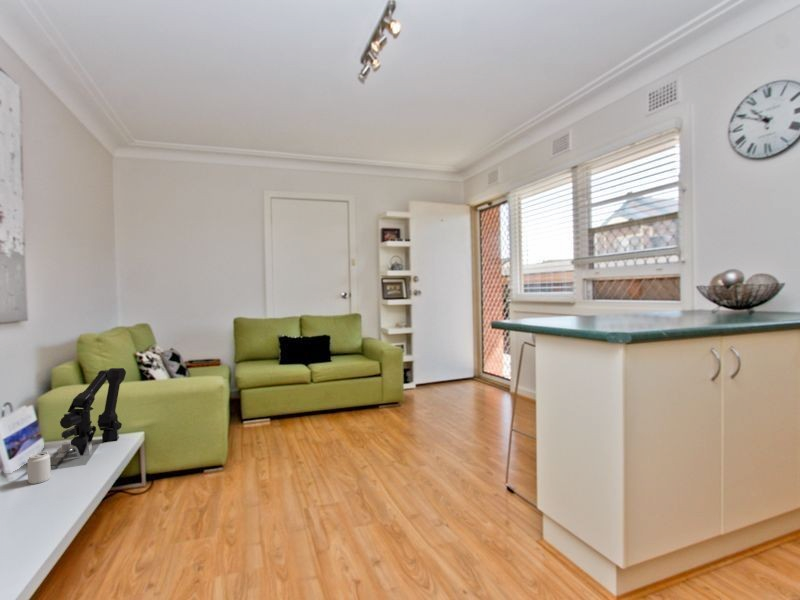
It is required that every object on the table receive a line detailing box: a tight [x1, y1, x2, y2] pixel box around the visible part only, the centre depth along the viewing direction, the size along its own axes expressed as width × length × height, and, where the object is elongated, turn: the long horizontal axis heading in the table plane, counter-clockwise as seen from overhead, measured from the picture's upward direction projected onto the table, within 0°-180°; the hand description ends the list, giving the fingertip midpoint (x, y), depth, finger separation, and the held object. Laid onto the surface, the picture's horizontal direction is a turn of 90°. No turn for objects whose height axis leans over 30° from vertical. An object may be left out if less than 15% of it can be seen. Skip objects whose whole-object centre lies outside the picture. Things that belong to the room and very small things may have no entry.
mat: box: [50, 442, 102, 470], centre depth 203 cm, size 18×28×1 cm, turn 24°
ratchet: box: [50, 441, 75, 471], centre depth 200 cm, size 7×24×4 cm, turn 24°
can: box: [26, 451, 52, 485], centre depth 179 cm, size 8×8×12 cm
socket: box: [77, 440, 93, 457], centre depth 206 cm, size 5×5×5 cm
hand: (84, 451), depth 206 cm, fingers open, 9 cm apart
